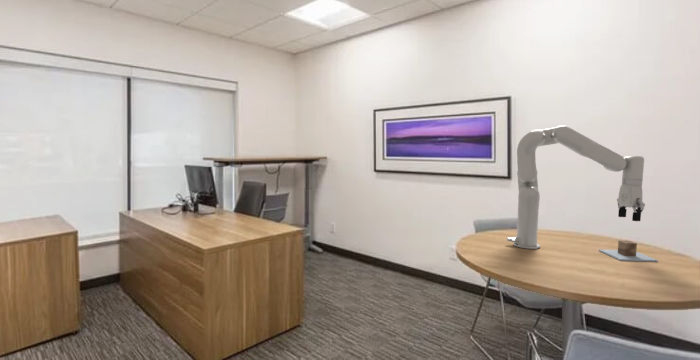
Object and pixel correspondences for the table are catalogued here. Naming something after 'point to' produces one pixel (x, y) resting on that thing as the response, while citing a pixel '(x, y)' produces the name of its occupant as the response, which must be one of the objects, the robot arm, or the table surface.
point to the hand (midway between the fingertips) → (628, 218)
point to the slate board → (628, 258)
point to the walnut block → (627, 248)
